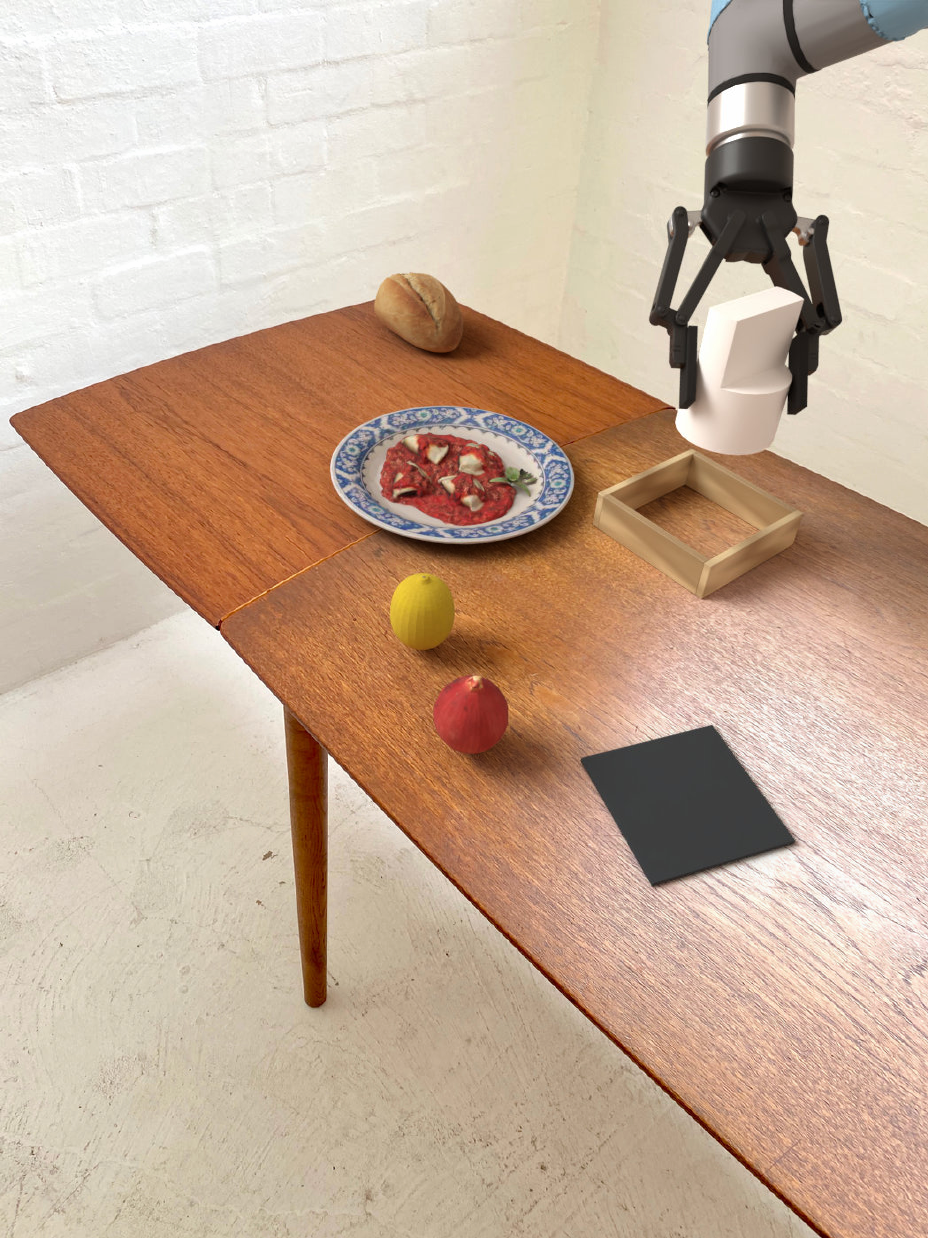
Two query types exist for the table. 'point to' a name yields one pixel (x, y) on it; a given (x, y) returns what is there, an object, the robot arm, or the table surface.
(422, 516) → the ceramic plate
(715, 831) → the slate mat
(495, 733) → the onion
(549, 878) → the table surface
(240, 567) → the table surface
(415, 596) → the lemon
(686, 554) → the square wooden frame
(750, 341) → the cylinder with rectangular tab
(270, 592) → the table surface
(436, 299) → the bread roll
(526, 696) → the table surface
